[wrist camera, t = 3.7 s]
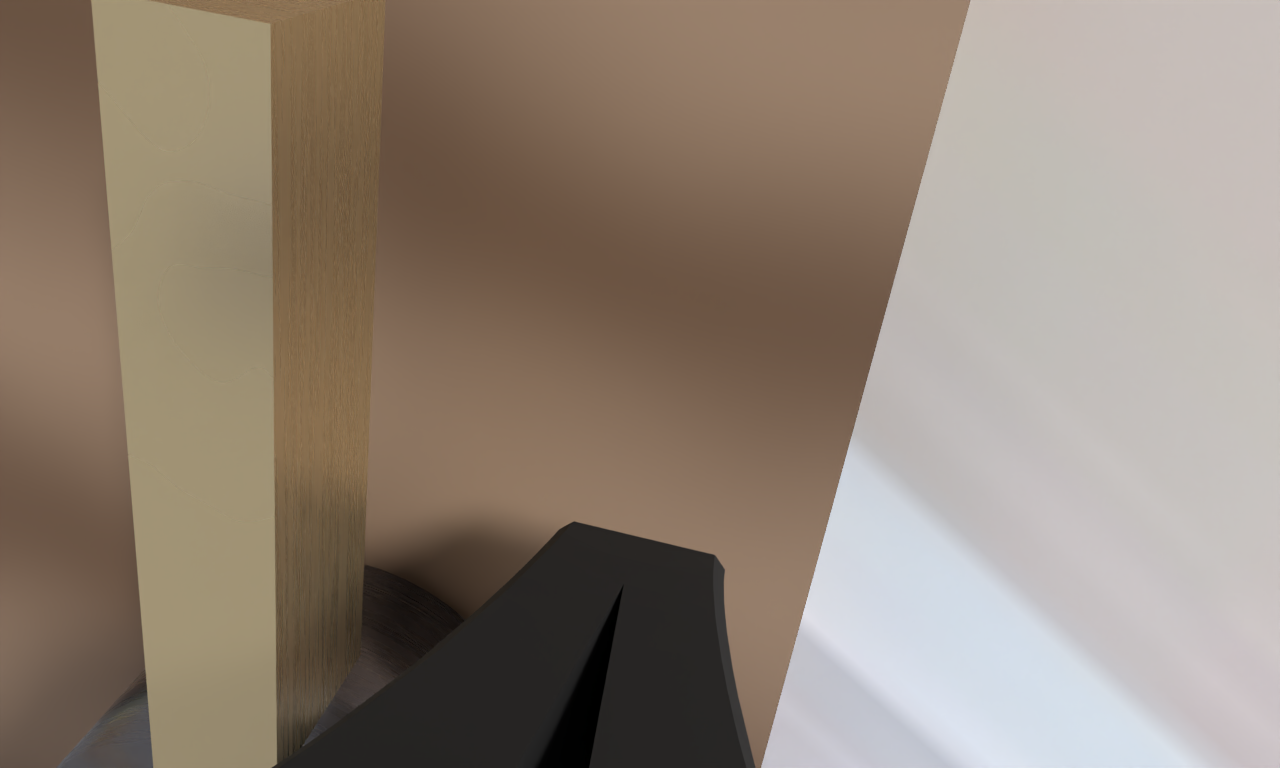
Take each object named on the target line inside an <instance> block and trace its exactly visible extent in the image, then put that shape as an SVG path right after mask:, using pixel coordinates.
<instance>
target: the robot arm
mask: <svg viewBox="0 0 1280 768" xmlns="http://www.w3.org/2000/svg"><path fill="white" fill-rule="evenodd" d="M724 575H725V569H724V567H723V566H722V564H721V563H720V561H719V560H718V559H717V557H716V556H715V555H713V554H709V553H705V552H701V551H697V550H692V549H688V548H684V547H680V546H676V545H671V544H667V543H663V542H659V541H655V540H650V539H646V538H642V537H638V536H634V535H629V534H625V533H621V532H617V531H613V530H608V529H604V528H600V527H596V526H592V525H588V524H583V523H579V522H575V521H573V522H572V523H570V524H568V525H566V526H564V527H563V528H561V529H559V530H558V531H557V532H556V533H555V534H554V536H553V537H552V538H551V539H550V540H549V541H548V542H547V543H546V544H545V545H544V546H543V547H542V548H541V549H540V550H539V551H538V552H537V553H536V555H535V556H534V557H533V558H532V559H531V560H530V561H529V562H528V563H527V564H526V565H525V566H524V567H523V568H522V569H521V570H519V571H518V572H517V573H516V574H515V575H514V576H513V577H512V578H511V579H510V580H509V581H508V582H507V583H506V584H505V585H504V586H503V587H502V588H500V589H499V590H498V591H497V592H496V593H495V594H494V595H493V596H492V597H491V598H490V599H489V600H488V601H486V602H485V603H484V604H483V605H482V606H481V607H480V608H479V609H478V610H476V611H475V612H474V613H473V614H472V615H471V616H469V617H468V618H467V619H466V620H465V621H464V622H462V623H461V624H460V625H459V626H458V627H457V628H455V629H454V630H453V631H452V632H451V633H450V634H448V635H447V636H446V637H445V638H444V639H443V640H441V641H440V642H439V643H438V644H437V645H436V646H434V647H433V648H432V649H431V650H430V651H429V652H427V653H426V654H425V655H424V656H423V657H422V658H420V659H419V660H418V661H417V662H415V663H414V664H413V665H412V666H410V667H409V668H408V669H407V670H405V671H404V672H403V673H401V674H400V675H399V676H397V677H396V678H395V679H394V680H392V681H391V682H390V683H388V684H387V685H386V686H384V687H383V688H382V689H380V690H379V691H378V692H376V693H375V694H374V695H372V696H371V697H370V698H368V699H367V700H366V701H365V702H363V703H362V704H361V705H359V706H358V707H357V708H355V709H354V710H353V711H351V712H350V713H349V714H347V715H346V716H345V717H343V718H342V719H341V720H339V721H338V722H337V723H335V724H334V725H333V726H331V727H330V728H329V729H327V730H326V731H324V732H323V733H322V734H320V735H319V736H317V737H316V738H314V739H313V740H312V741H310V742H309V743H307V744H306V745H304V746H303V747H301V748H300V749H299V750H297V751H296V752H294V753H293V754H291V755H290V756H288V757H287V758H285V759H284V760H282V761H281V762H279V763H278V764H276V765H275V766H273V767H272V768H756V767H755V763H754V760H753V756H752V752H751V747H750V743H749V739H748V735H747V731H746V727H745V722H744V718H743V714H742V710H741V706H740V702H739V698H738V693H737V688H736V683H735V678H734V673H733V667H732V661H731V654H730V648H729V642H728V635H727V627H726V618H725V606H724Z"/></svg>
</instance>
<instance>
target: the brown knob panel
mask: <svg viewBox="0 0 1280 768" xmlns="http://www.w3.org/2000/svg"><path fill="white" fill-rule="evenodd" d="M969 3H970V0H385V23H384V50H383V77H382V103H381V130H380V157H379V183H378V210H377V237H376V263H375V290H374V317H373V343H372V370H371V397H370V423H369V450H368V477H367V503H366V530H365V557H364V564H365V565H369V566H372V567H375V568H379V569H382V570H384V571H387V572H389V573H392V574H394V575H396V576H399V577H401V578H404V579H406V580H408V581H410V582H411V583H413V584H415V585H417V586H419V587H421V588H423V589H424V590H426V591H428V592H430V593H431V594H433V595H434V596H435V597H437V598H438V599H440V600H441V601H443V602H444V603H446V604H447V605H449V606H450V607H451V608H452V609H454V610H455V611H456V612H457V613H458V614H460V615H461V616H462V617H463V618H464V619H467V618H468V617H469V616H471V615H472V614H473V613H474V612H475V611H476V610H478V609H479V608H480V607H481V606H482V605H483V604H484V603H485V602H486V601H488V600H489V599H490V598H491V597H492V596H493V595H494V594H495V593H496V592H497V591H498V590H499V589H500V588H502V587H503V586H504V585H505V584H506V583H507V582H508V581H509V580H510V579H511V578H512V577H513V576H514V575H515V574H516V573H517V572H518V571H519V570H521V569H522V568H523V567H524V566H525V565H526V564H527V563H528V562H529V561H530V560H531V559H532V558H533V557H534V556H535V555H536V553H537V552H538V551H539V550H540V549H541V548H542V547H543V546H544V545H545V544H546V543H547V542H548V541H549V540H550V539H551V538H552V537H553V536H554V534H555V533H556V532H557V531H558V530H559V529H561V528H563V527H564V526H566V525H568V524H570V523H572V522H573V521H575V522H579V523H583V524H588V525H592V526H596V527H600V528H604V529H608V530H613V531H617V532H621V533H625V534H629V535H634V536H638V537H642V538H646V539H650V540H655V541H659V542H663V543H667V544H671V545H676V546H680V547H684V548H688V549H692V550H697V551H701V552H705V553H709V554H713V555H715V556H716V557H717V559H718V560H719V561H720V563H721V564H722V566H723V567H724V569H725V575H724V606H725V618H726V627H727V635H728V642H729V648H730V654H731V661H732V667H733V673H734V678H735V683H736V688H737V693H738V698H739V702H740V706H741V710H742V714H743V718H744V722H745V727H746V731H747V735H748V739H749V743H750V747H751V752H752V756H753V760H754V763H755V767H756V768H761V765H762V761H763V758H764V754H765V750H766V747H767V743H768V739H769V736H770V732H771V728H772V725H773V721H774V717H775V714H776V710H777V706H778V703H779V699H780V695H781V692H782V688H783V684H784V681H785V677H786V673H787V670H788V666H789V662H790V659H791V655H792V652H793V648H794V644H795V641H796V637H797V633H798V630H799V626H800V622H801V619H802V615H803V611H804V608H805V604H806V600H807V597H808V593H809V589H810V586H811V582H812V578H813V575H814V571H815V567H816V564H817V560H818V556H819V553H820V549H821V545H822V542H823V538H824V534H825V531H826V527H827V523H828V520H829V516H830V512H831V509H832V505H833V501H834V498H835V494H836V490H837V487H838V483H839V479H840V476H841V472H842V468H843V465H844V461H845V457H846V454H847V450H848V446H849V443H850V439H851V436H852V432H853V428H854V425H855V421H856V417H857V414H858V410H859V406H860V403H861V399H862V395H863V392H864V388H865V384H866V381H867V377H868V373H869V370H870V366H871V362H872V359H873V355H874V351H875V348H876V344H877V340H878V337H879V333H880V329H881V326H882V322H883V318H884V315H885V311H886V307H887V304H888V300H889V296H890V293H891V289H892V285H893V282H894V278H895V274H896V271H897V267H898V263H899V260H900V256H901V252H902V249H903V245H904V241H905V238H906V234H907V230H908V227H909V223H910V219H911V216H912V212H913V209H914V205H915V201H916V198H917V194H918V190H919V187H920V183H921V179H922V176H923V172H924V168H925V165H926V161H927V157H928V154H929V150H930V146H931V143H932V139H933V135H934V132H935V128H936V124H937V121H938V117H939V113H940V110H941V106H942V102H943V99H944V95H945V91H946V88H947V84H948V80H949V77H950V73H951V69H952V66H953V62H954V58H955V55H956V51H957V47H958V44H959V40H960V36H961V33H962V29H963V25H964V22H965V18H966V14H967V11H968V7H969ZM144 669H145V658H144V646H143V633H142V621H141V608H140V596H139V584H138V571H137V559H136V547H135V534H134V522H133V510H132V497H131V485H130V473H129V460H128V448H127V436H126V423H125V411H124V398H123V386H122V374H121V361H120V349H119V337H118V324H117V312H116V300H115V287H114V275H113V263H112V250H111V238H110V226H109V213H108V201H107V188H106V176H105V164H104V151H103V139H102V127H101V114H100V102H99V90H98V77H97V65H96V53H95V40H94V28H93V16H92V3H91V0H0V768H56V767H57V766H58V765H59V764H60V763H61V762H62V761H63V760H64V758H65V757H66V756H67V755H68V754H69V753H70V752H71V751H72V749H73V748H74V747H75V746H76V745H77V744H78V743H79V742H80V740H81V739H82V738H83V737H84V736H85V735H86V734H87V733H88V732H89V730H90V729H91V728H92V727H93V726H94V725H95V724H96V723H97V721H98V720H99V719H100V718H101V717H102V716H103V715H104V714H105V712H106V711H107V710H108V709H109V708H110V707H111V706H112V705H113V703H114V702H115V701H116V700H117V699H118V698H119V697H120V696H121V695H122V693H123V692H124V691H125V690H126V689H127V688H128V687H129V686H130V684H131V683H132V682H133V681H134V680H135V679H136V678H137V677H138V675H139V674H140V673H141V672H142V671H143V670H144Z"/></svg>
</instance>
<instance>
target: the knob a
mask: <svg viewBox="0 0 1280 768" xmlns="http://www.w3.org/2000/svg"><path fill="white" fill-rule="evenodd" d="M91 3H92V16H93V28H94V40H95V53H96V65H97V77H98V90H99V102H100V114H101V127H102V139H103V151H104V164H105V176H106V188H107V201H108V213H109V226H110V238H111V250H112V263H113V275H114V287H115V300H116V312H117V324H118V337H119V349H120V361H121V374H122V386H123V398H124V411H125V423H126V436H127V448H128V460H129V473H130V485H131V497H132V510H133V522H134V534H135V547H136V559H137V571H138V584H139V596H140V608H141V621H142V633H143V646H144V658H145V669H144V670H143V671H142V672H141V673H140V674H139V675H138V677H137V678H136V679H135V680H134V681H133V682H132V683H131V684H130V686H129V687H128V688H127V689H126V690H125V691H124V692H123V693H122V695H121V696H120V697H119V698H118V699H117V700H116V701H115V702H114V703H113V705H112V706H111V707H110V708H109V709H108V710H107V711H106V712H105V714H104V715H103V716H102V717H101V718H100V719H99V720H98V721H97V723H96V724H95V725H94V726H93V727H92V728H91V729H90V730H89V732H88V733H87V734H86V735H85V736H84V737H83V738H82V739H81V740H80V742H79V743H78V744H77V745H76V746H75V747H74V748H73V749H72V751H71V752H70V753H69V754H68V755H67V756H66V757H65V758H64V760H63V761H62V762H61V763H60V764H59V765H58V766H57V767H56V768H272V767H273V766H275V765H276V764H278V763H279V762H281V761H282V760H284V759H285V758H287V757H288V756H290V755H291V754H293V753H294V752H296V751H297V750H299V749H300V748H301V747H303V746H304V745H306V744H307V743H309V742H310V741H312V740H313V739H314V738H316V737H317V736H319V735H320V734H322V733H323V732H324V731H326V730H327V729H329V728H330V727H331V726H333V725H334V724H335V723H337V722H338V721H339V720H341V719H342V718H343V717H345V716H346V715H347V714H349V713H350V712H351V711H353V710H354V709H355V708H357V707H358V706H359V705H361V704H362V703H363V702H365V701H366V700H367V699H368V698H370V697H371V696H372V695H374V694H375V693H376V692H378V691H379V690H380V689H382V688H383V687H384V686H386V685H387V684H388V683H390V682H391V681H392V680H394V679H395V678H396V677H397V676H399V675H400V674H401V673H403V672H404V671H405V670H407V669H408V668H409V667H410V666H412V665H413V664H414V663H415V662H417V661H418V660H419V659H420V658H422V657H423V656H424V655H425V654H426V653H427V652H429V651H430V650H431V649H432V648H433V647H434V646H436V645H437V644H438V643H439V642H440V641H441V640H443V639H444V638H445V637H446V636H447V635H448V634H450V633H451V632H452V631H453V630H454V629H455V628H457V627H458V626H459V625H460V624H461V623H462V622H464V621H465V620H466V619H464V618H463V617H462V616H461V615H460V614H458V613H457V612H456V611H455V610H454V609H452V608H451V607H450V606H449V605H447V604H446V603H444V602H443V601H441V600H440V599H438V598H437V597H435V596H434V595H433V594H431V593H430V592H428V591H426V590H424V589H423V588H421V587H419V586H417V585H415V584H413V583H411V582H410V581H408V580H406V579H404V578H401V577H399V576H396V575H394V574H392V573H389V572H387V571H384V570H382V569H379V568H375V567H372V566H369V565H365V564H364V557H365V530H366V503H367V477H368V450H369V423H370V397H371V370H372V343H373V317H374V290H375V263H376V237H377V210H378V183H379V157H380V130H381V103H382V77H383V50H384V23H385V0H91Z"/></svg>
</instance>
